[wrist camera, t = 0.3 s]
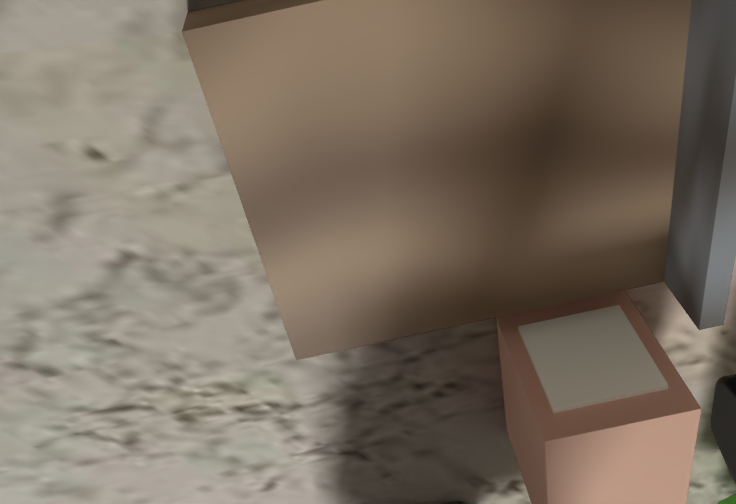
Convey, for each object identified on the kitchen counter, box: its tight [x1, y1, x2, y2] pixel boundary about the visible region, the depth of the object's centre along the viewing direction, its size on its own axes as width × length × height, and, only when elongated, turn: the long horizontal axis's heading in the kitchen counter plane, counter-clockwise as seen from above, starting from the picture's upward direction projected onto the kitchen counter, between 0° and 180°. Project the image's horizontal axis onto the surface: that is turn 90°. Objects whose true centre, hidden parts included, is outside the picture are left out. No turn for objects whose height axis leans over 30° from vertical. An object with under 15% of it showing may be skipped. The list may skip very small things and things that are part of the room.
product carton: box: [496, 290, 701, 504], centre depth 27 cm, size 7×5×6 cm
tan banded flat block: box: [182, 0, 736, 360], centre depth 21 cm, size 12×14×4 cm
